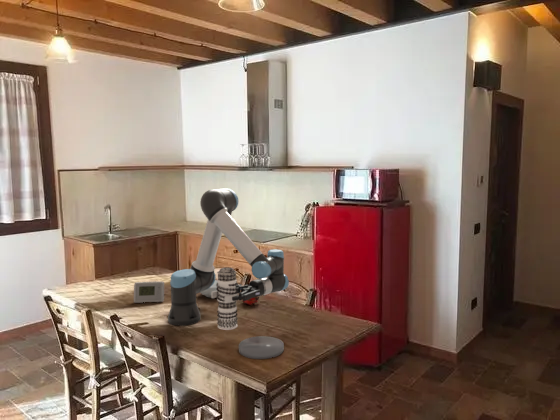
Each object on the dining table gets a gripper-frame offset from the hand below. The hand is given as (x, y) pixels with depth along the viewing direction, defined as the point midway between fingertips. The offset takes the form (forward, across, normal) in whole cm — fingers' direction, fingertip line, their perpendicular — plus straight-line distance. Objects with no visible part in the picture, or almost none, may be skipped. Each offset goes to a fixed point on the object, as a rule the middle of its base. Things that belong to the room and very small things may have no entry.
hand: (218, 297), depth 189 cm
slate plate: (-7, -19, -18) cm, 27 cm away
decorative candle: (-5, 0, -14) cm, 14 cm away
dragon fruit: (-42, +30, -19) cm, 55 cm away
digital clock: (-5, +72, -20) cm, 74 cm away
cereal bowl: (-37, +57, -20) cm, 70 cm away
